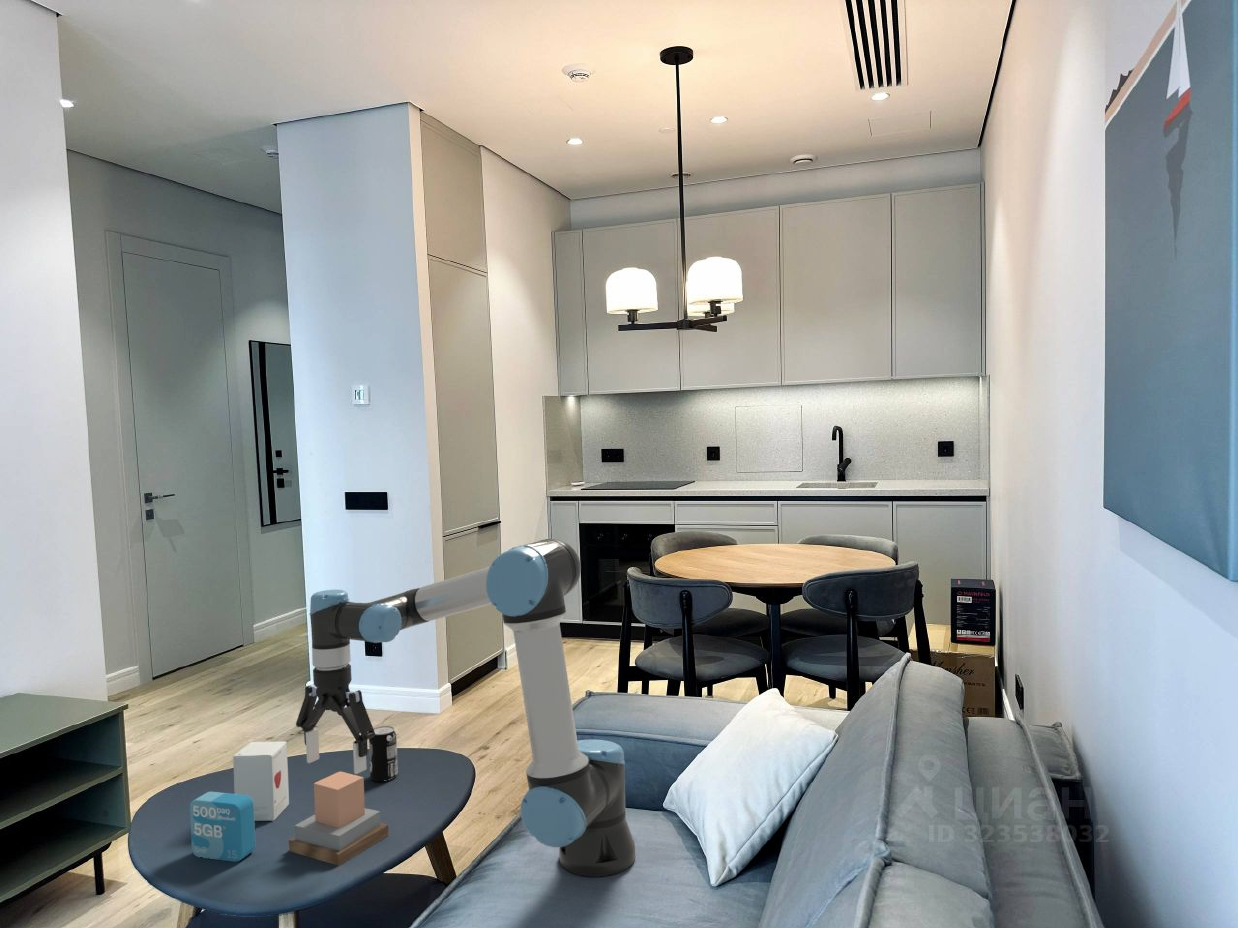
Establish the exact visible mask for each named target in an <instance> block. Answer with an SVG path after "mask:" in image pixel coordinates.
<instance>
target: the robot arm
mask: <svg viewBox="0 0 1238 928" xmlns="http://www.w3.org/2000/svg"><path fill="white" fill-rule="evenodd" d="M581 569H582V566H581V560H580V557H579V555H578V554H577V552H576V550H575V549H574V548H573V547H572V546H571V545H570V544H569V543H567V542H565V541H563V540H560V539H557V538H556V539H555V538H547V539H546V538H545V539H541V540H539V541H535V542H530V543H527V544H526V543H525V544H523V545H519V546H513V547H512V548H509V549H508V550H506V551H503V552H502V553H500V554H499V555H498V556H497V557H495V559H494V560H493V561H492V563H490V566H487V567H484V568H481V569H478V570H473V571H470V572H467V573H464V574H461V575H460V574H459V575H457V576H454V577H450V578H446V579H444V580H441V581H437V582H434V583H431V584H427V585H423V586H421V587H417V588H412V589H409V590H407V591H403V592H400V593H397V594H394V595H391V596H388V597H385V598H381V599H378V600H374V601H371V602H353V601H350V599H349V594H348V592H347V591H346V590H344V589H326V590H321V591H317V592H315V593H313V594H312V595H311V596H310V607H309V608H310V609H309V611H310V612H309V617H310V628H311V630H310V631H311V652H312V653H311V659H312V661H311V663H312V664H311V665H312V667H314V668H313V669H312V676H313V677H312V678H313V683H312V684H310V685H307V686H305V688H304V689H305V690H304V691H305V692H304V699H303V700H302V704H301V707H300V709H299V713H298V716H297V719H296V722H295V726H296V727H297V728H301V729H302V732H303V734H304V735H303V737H304V740H303V741H304V744H305V745H304V746H305V749H306V752H305V753H306V763H307V764H311V763H313V762H315V761H317V760H320V743H319V728H317V727H318V725H317V724H318V723H319V721H320V720H321V718H322V716H324V714H325V712H326V711H331V712H333V713H334V712H335V713H336V714H337V715H338V716H340V717H341V718H342V720H343V721H344V723H345V724H346V726H347V728H348V729H349V731H350V733H351V734H352V736H353V738H354V739H355V741H353V742H352V751H353V754H352V756H353V775H358V774H360V773H363V772H364V771H366V770H368V769H367V768H368V767H367V756H368V753H369V751H368V750H369V745H368V741H369V739H370V738H372V737H374V736H375V732H374V729H373V728H374V727H373V724H372V722H371V720H370V717H369V713H368V712H367V708H366V706H365V703H364V699H363V695H362V691H361V690H360V689H359V690H356V691H351V690H350V684H351V682H352V665H351V664H350V662H351V640H352V641H362V642H370V643H373V644H378V643H389V642H392V641H393V640H395V638H396V636H398V634H399V633H400V631H403V630H405V629H408V628H411V627H415V626H417V625H422V624H425V623H429V622H431V621H435V620H439V619H443V618H446V617H449V616H453V615H457V614H458V615H459V614H460V613H465V612H468V611H472V610H475V609H479V608H484V607H487V606H491V605H492V606H494V607H495V608H496V610H497V611H498V612H499V613H501V615H502V621H503V625H504V626H506V627H507V628H508V629H510V630H511V631H512V632H513V638H514V645H515V652H516V659H517V665H518V671H519V677H520V684H521V691H522V696H523V703H524V710H525V717H526V718H525V719H526V722H527V723H526V724H527V729H528V731H527V732H528V737H529V742H530V744H529V745H530V750H531V754H532V755H531V756H532V759H531V762H530V763H529V764H528V766H527V767H526V768H525V771H526V778H527V779H526V780H527V786H528V791H526V793H525V795H524V797H523V798H522V800H521V802H520V808H519V809H520V812H519V813H520V817H521V821H522V824H523V826H524V828H525V829H526V831H527V832H528V833H529V835H530V836H531V837H534V838H535V839H536V841H537V842H539V843H540V844H542V845H544V846H547V847H551V848H559V849H558V850H559V851H558V852H559V853H558V855H559V863H560V865H561V867H563V868H564V869H565V870H566V871H568V872H570V873H572V874H575V875H577V876H582V877H590V878H591V877H594V878H596V877H605V876H606V877H607V876H611V875H615V874H618V873H621V872H623V871H625V870H627V869H629V868H630V867H631V866H632V865H633V864H634V862H635V860H636V844H635V841H634V839H633V836H632V832H631V830H630V826H629V824H628V821H627V817H626V815H627V814H626V779H625V778H626V774H625V773H626V772H625V771H626V770H625V768H626V767H625V765H626V761H625V756H624V755H625V754H624V749H623V748H622V747H621V745H619V744H618V743H616V742H614V741H610V740H604V739H580V740H579V739H578V737H577V730H576V724H575V716H574V710H573V704H572V703H573V702H572V696H571V691H570V685H569V678H568V677H569V676H568V670H567V663H566V659H565V658H566V657H565V651H564V646H563V645H564V644H563V638H562V631H561V625H560V623H561V621H562V620H563V619H564V617H565V615H566V614H567V611H566V603H565V598H564V597H566V596H567V595H568V594H569V593H571V591H572V590H574V588H575V587H576V585H578V582H579V579H580V576H581V572H582V571H581Z"/></svg>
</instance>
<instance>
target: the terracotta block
mask: <svg viewBox="0 0 1238 928" xmlns="http://www.w3.org/2000/svg"><path fill="white" fill-rule="evenodd" d="M364 778H365V777H363V776H359V775H357V774H351V773H348V772H345V771H338V772H335V773H332V774H331V775H329V776H327V777H324V778H322V779H320V780H318V781H316V782H314V783H313V795H314V799H313V800H314V814H315V821H317V822H320V823H323V824H326V825H330V826H333V827H336V828H341V827H343V826H345V825H346V824H348V823H350V822H352V821H354V820H356V819H358V818H360V817H361V816H363V815H365V808H366V807H365V806H366V805H365V782H364V781H365V779H364Z"/></svg>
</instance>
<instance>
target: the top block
mask: <svg viewBox="0 0 1238 928" xmlns="http://www.w3.org/2000/svg"><path fill="white" fill-rule="evenodd" d="M380 823H381V811H380V810H375V809H371V808H366V807H365V815H363V816H361V817H360V818H358V819H356V820H354V821H352V822H350V823H348V824H346V825H345V826H343V827H341V828H336V827H333V826H330V825H326V824H323V823H320V822H317V821H315V813H314V814H312V815H310V816H309V817H307V818H305V819H303V820H302V821H300V822H299V823H296V824H295V825H294V837H295V840H298V841H302V842H306V843H310V844H314V845H318V846H323V847H327V848H331V849H335V850H339V851H340V850H342V849H343V848H345V847H347V846H348V845H350V844H351V843H353V842H355V841H356V840H358V839H359V838H361V837H362V836H364V835H366V834H367V833H369V832H370V831H372V830H374V829H375V828H377V827H378V826H380Z"/></svg>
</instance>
